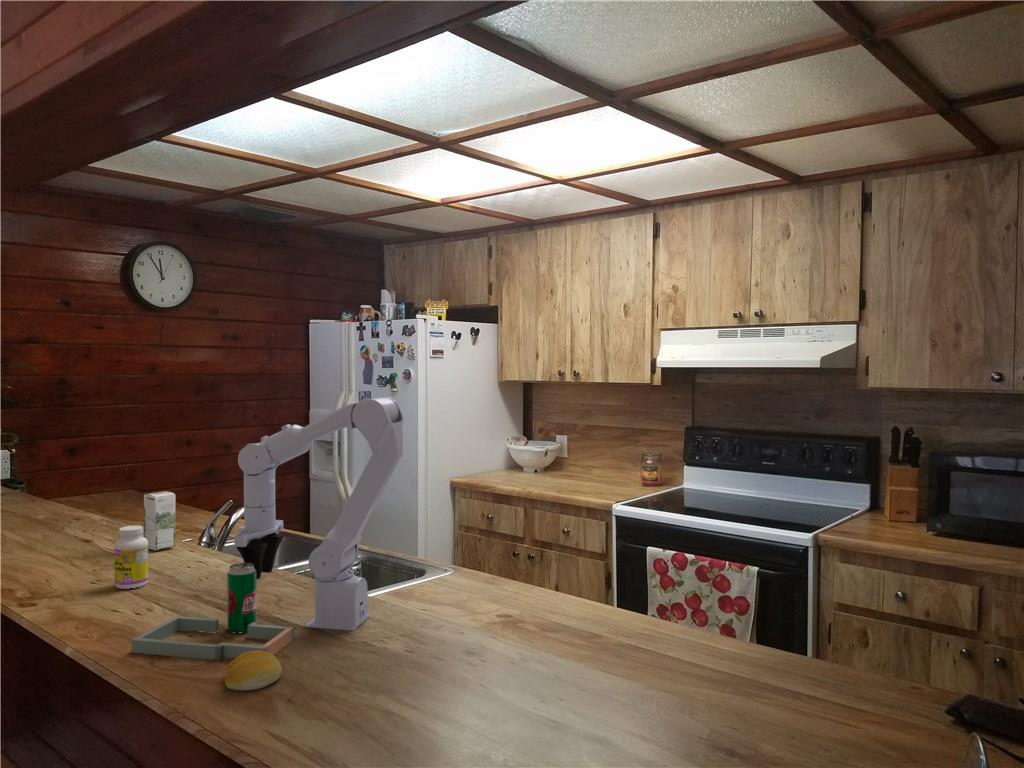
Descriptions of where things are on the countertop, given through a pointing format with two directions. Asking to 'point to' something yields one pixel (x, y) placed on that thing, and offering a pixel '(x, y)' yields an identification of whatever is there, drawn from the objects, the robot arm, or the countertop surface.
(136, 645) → the corral
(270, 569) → the robot arm
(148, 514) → the syrup box
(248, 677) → the bread roll
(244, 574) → the soda can
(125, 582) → the supplement bottle
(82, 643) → the countertop surface
